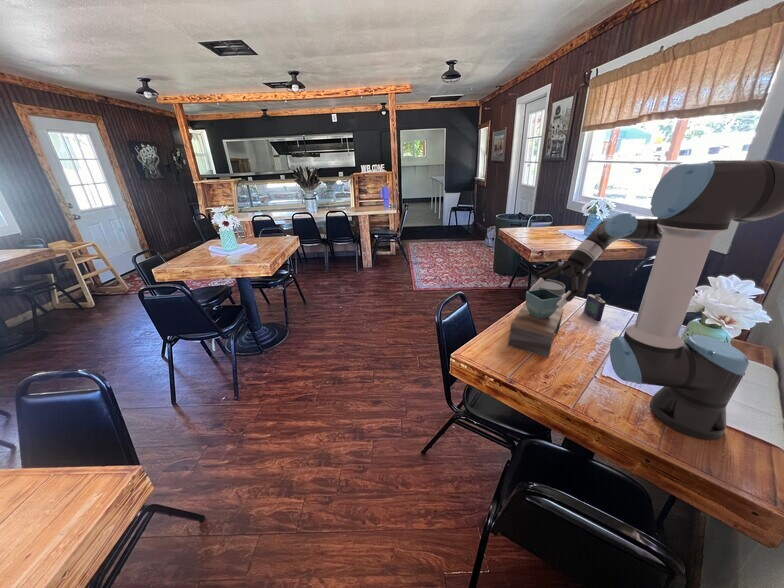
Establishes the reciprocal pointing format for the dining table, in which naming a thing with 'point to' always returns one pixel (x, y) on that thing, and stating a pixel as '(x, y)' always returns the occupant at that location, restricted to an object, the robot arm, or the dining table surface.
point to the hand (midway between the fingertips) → (544, 299)
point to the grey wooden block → (534, 331)
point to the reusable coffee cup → (554, 287)
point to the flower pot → (541, 303)
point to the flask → (594, 307)
